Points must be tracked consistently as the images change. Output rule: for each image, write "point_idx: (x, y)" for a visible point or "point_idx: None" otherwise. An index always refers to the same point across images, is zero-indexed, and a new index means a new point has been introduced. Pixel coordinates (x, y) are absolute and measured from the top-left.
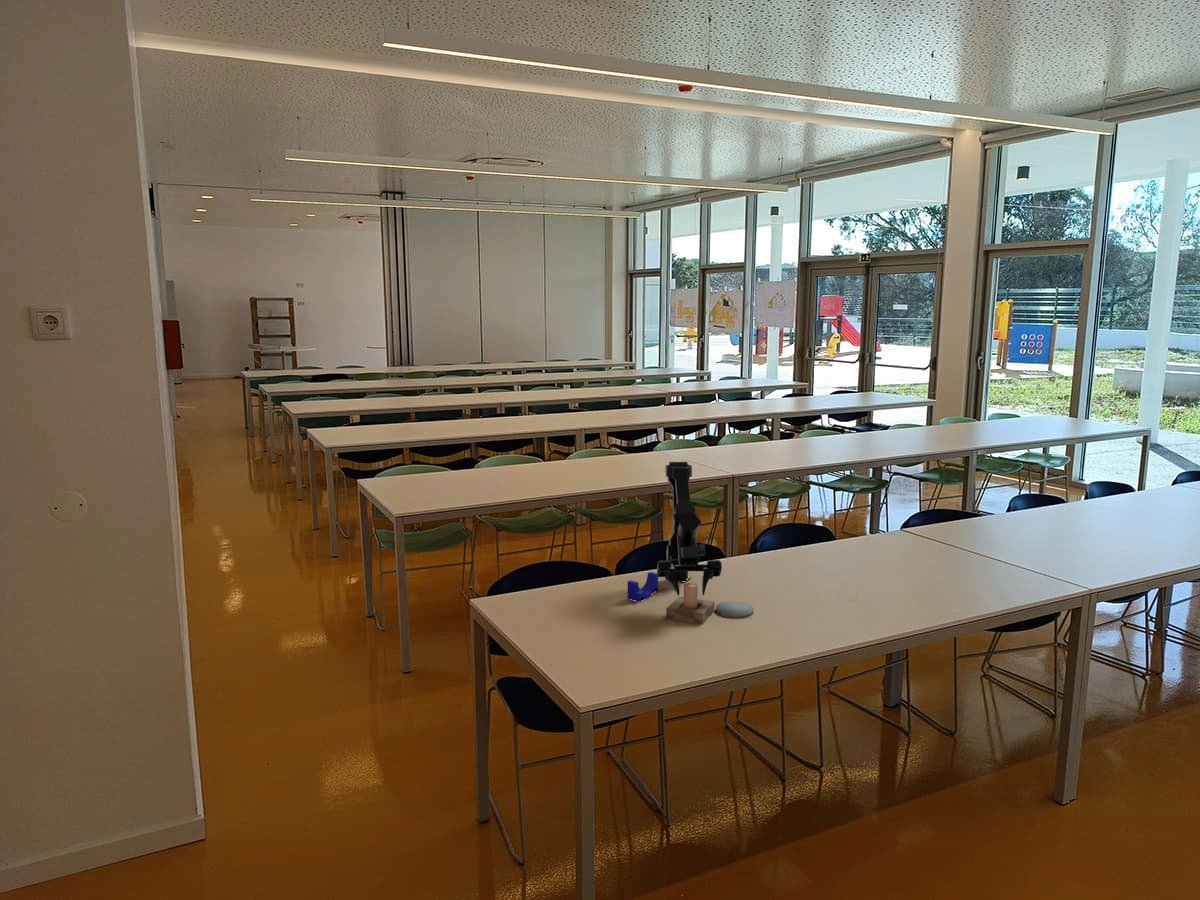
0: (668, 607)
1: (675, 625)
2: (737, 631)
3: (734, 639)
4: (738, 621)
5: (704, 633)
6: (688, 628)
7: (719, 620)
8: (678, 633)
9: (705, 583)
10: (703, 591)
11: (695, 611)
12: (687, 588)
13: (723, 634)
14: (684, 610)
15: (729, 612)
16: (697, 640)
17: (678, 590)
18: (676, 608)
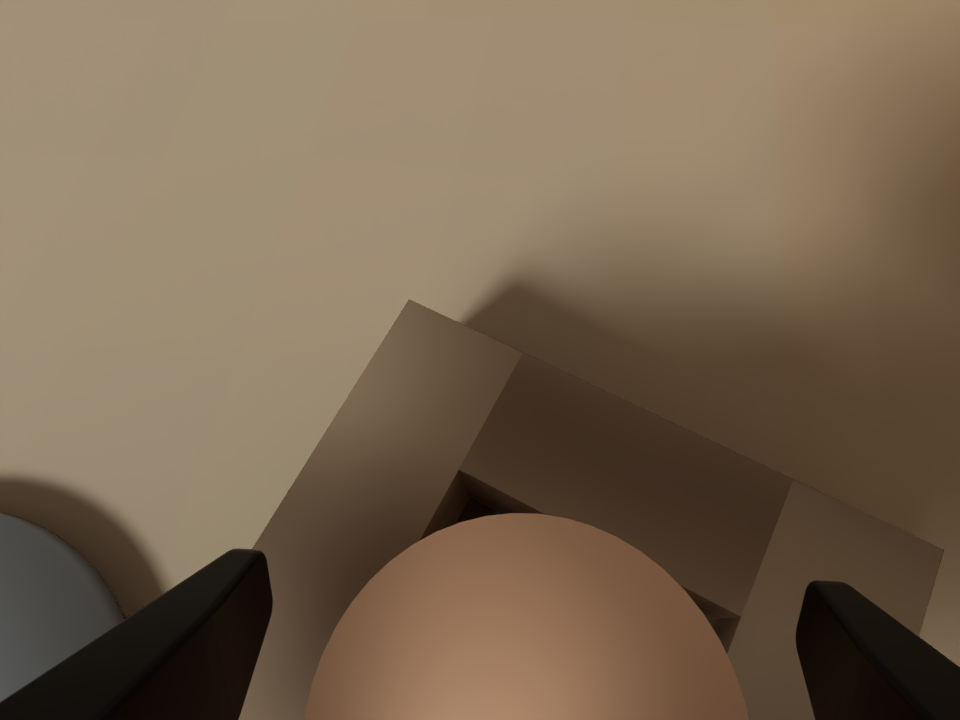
0: (909, 596)
1: (740, 333)
2: (142, 164)
3: (236, 20)
4: (15, 405)
5: (460, 133)
6: (600, 249)
7: (208, 449)
8: (712, 140)
9: (24, 716)
10: (228, 568)
11: (490, 388)
12: (637, 559)
13: (292, 109)
14: (647, 438)
15: (2, 588)
16: (550, 8)
17: (871, 626)
18: (771, 535)
